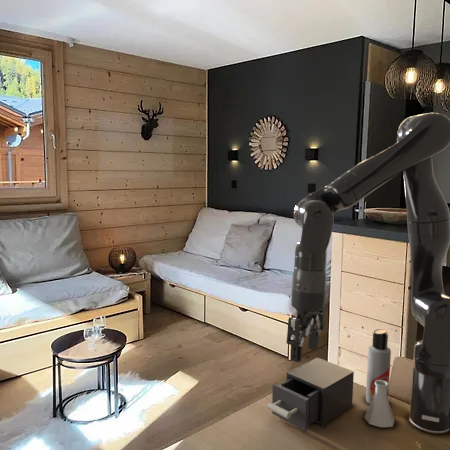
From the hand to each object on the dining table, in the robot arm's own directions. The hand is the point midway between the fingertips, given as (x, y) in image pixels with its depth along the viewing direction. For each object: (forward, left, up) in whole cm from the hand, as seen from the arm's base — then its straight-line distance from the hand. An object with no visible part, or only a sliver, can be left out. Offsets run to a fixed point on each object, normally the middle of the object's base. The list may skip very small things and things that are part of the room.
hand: (304, 354), depth 105 cm
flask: (-20, -7, -20) cm, 29 cm away
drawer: (0, -6, -19) cm, 20 cm away
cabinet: (-6, -13, -20) cm, 24 cm away
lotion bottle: (-22, -16, -20) cm, 34 cm away
